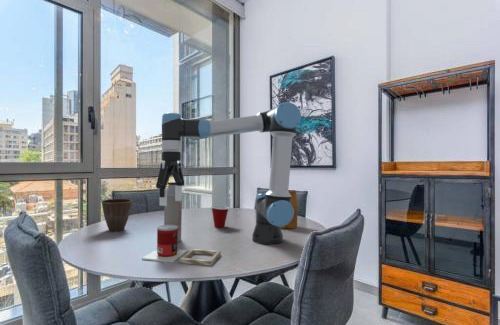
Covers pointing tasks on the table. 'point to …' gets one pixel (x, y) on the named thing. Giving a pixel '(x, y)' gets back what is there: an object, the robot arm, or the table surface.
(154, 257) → the sage pad
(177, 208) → the thermos bottle
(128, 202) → the plant pot
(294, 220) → the coffee package
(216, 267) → the table surface
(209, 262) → the square wooden frame
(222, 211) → the plastic cup
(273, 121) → the robot arm
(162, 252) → the canned food
